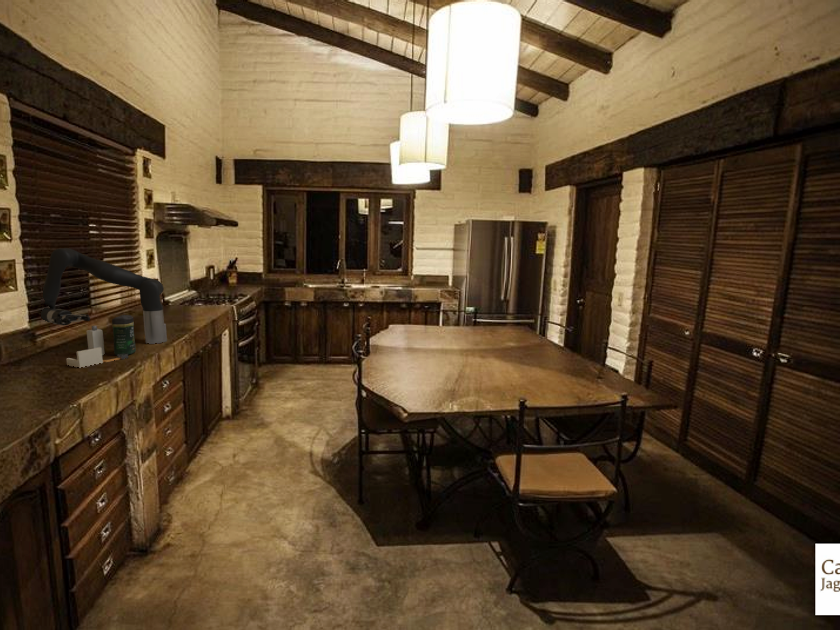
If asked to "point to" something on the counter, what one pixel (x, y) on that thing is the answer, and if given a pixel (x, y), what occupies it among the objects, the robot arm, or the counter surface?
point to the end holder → (86, 358)
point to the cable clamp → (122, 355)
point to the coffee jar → (123, 334)
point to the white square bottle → (95, 339)
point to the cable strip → (111, 360)
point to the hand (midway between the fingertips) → (79, 320)
